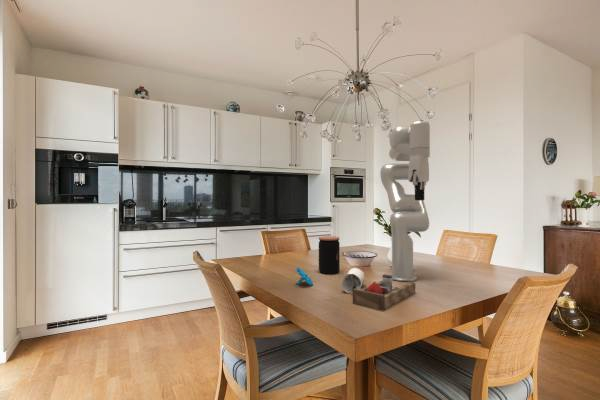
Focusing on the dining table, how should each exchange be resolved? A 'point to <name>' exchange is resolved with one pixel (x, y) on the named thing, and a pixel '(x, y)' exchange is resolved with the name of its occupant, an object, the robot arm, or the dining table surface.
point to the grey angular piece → (387, 284)
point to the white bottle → (352, 280)
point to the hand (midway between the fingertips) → (419, 200)
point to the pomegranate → (375, 288)
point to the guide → (382, 296)
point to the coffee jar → (329, 255)
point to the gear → (303, 277)
